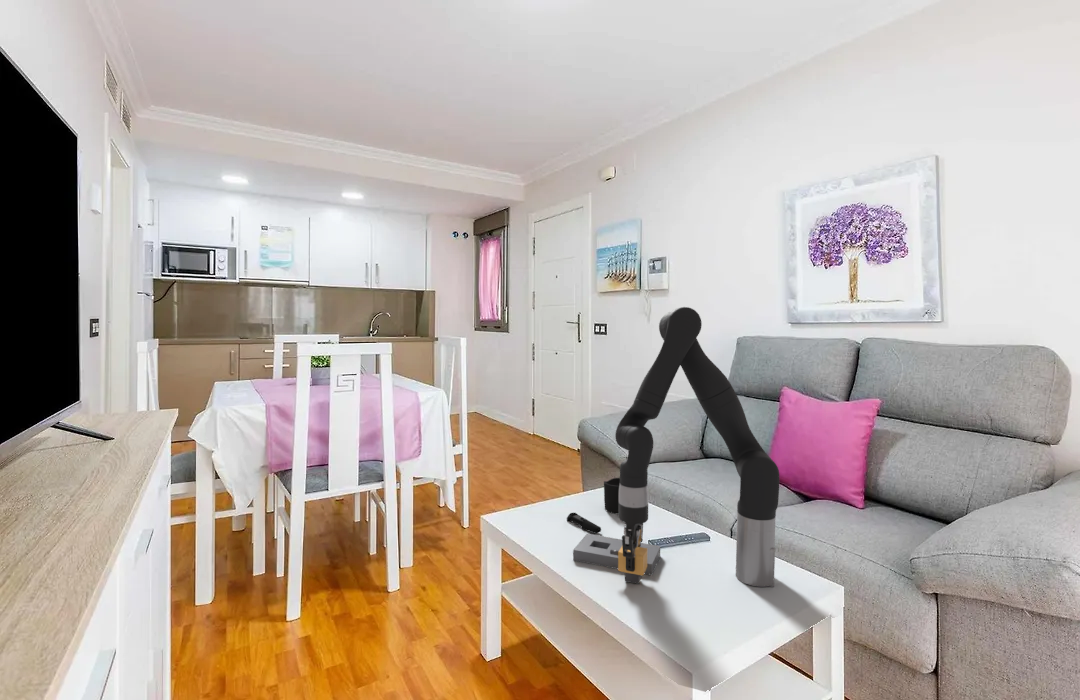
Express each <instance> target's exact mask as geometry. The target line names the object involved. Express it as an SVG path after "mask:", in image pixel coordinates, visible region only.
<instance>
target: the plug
mask: <svg viewBox="0 0 1080 700" xmlns="http://www.w3.org/2000/svg"><path fill="white" fill-rule="evenodd" d="M628 552H631V551H630V550H628ZM610 554H612V555H617V556H618V569H617V571H618V572H622V573H624V582H626V583H627V582H628V583H633V584H638V585H639V584H640V581H641V580H642V579H641V578H642V576H644V575H645V574H644V573H645V571H646V569H647V548H642V547H637V548H636V552H635V554H636V556H635V570H634V571H633V572H632V571H627V570H626V557H623V546H622V547H621V549H620V550H619V551H617V550H610Z"/></svg>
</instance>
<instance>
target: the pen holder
mask: <svg viewBox="0 0 1080 700" xmlns="http://www.w3.org/2000/svg"><path fill="white" fill-rule="evenodd" d="M619 486H620V477H613V478H611V479H609V480H607V481H605V480H604V481H603V496H604V497H603V498H604V499H603V501H604V509H605V511H606V510H607V511H606V512H608V513H611V512H612V513H611V514H616V513H619Z"/></svg>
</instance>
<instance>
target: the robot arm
mask: <svg viewBox="0 0 1080 700" xmlns="http://www.w3.org/2000/svg"><path fill="white" fill-rule="evenodd" d="M658 324H659V325H658V331H659V334H660V337H661V338H662V340H663V342H662V345H661V348H660V349H659V350H660V351H659V352H658V354H657V356H656V358H655V360H654V362H653V364H652V365H651V367H650V368H649V370H648V371H647V373H646V374H645V376H644V378H643V380H642V381H641V384H640V387H639V389H638V392H637V393H636V395H635V398H634V400H633V402H632V405H631V406H630V408H629V409H628V410H627V412H625V414H624V415H623V417H622V418H621V420H620V421H619V422H618V424H617V427H616V430H615V437H614V438H615V442H616V443H617V445H618V446H619V447H620V448H622V449H624V450H626V451H628V453H627V458H626V459H625V460H623V461H621V462H620V464H619V465H620V466H619V478H620V486H619V514H618V519H619V520H620V521H621V522H623V523H625V526H624V528H623V534H622V536H621V540H622V546H623V557H626V570H627V571H632V572H633V571H634V570H635V556H636V554H635V552H636V548H637V547H641V543H643V538H644V537H643V535H644V533H643V532H644V523H646V522H648V520H649V488H648V487H649V486H648V476H649V475H648V468H649V466H650V462H651V458H652V453H653V449H654V437H653V434H652V432H651V431H650V429H649V428H647V427H646V424H647V423H648V422H649V421H652V420H655V419H657V418H658V416H659V414H660V412H661V410H662V408H663V405H664V403H665V402H666V401H665V400H666V398H667V396H668V394H669V390H670V388H671V385H672V383H673V382H674V379H675V377H676V374H677V373H678V370H679V368H680V367H681V369H682V371H683V372H684V375H685V377H686V379H687V381H688V383H689V384H690V387H691V389H692V390H693V393H694V395H695V396H696V399H697V400H698V402H699V405H700V406H701V408H702V409H703V411H704V413H705V414H706V416H707V419H708V420H709V421H710V423H711V425H713V427H714V429H715V430H716V431H717V432H718V434H719V435H720V437H722V439H723V441H724V443H725V445H726V446H727V449H728V451H729V454H730V456H731V459H732V461H733V464H734V466H735V469H736V472H737V474H738V476H739V478H740V482H739V483H740V484H739V487H740V488H739V498H738V499H739V500H738V501H737V504H736V507H737V509H736V548H735V549H736V552H735V553H736V555H735V577H736V578H737V579H738V580H739V581H740V582H742V583H743V584H746V585H749V586H753V587H759V588H760V587H762V588H764V587H772V588H774V587H775V569H776V568H775V563H776V562H775V561H776V549H775V548H776V545H775V544H776V516H777V510H778V506H779V500H780V499H779V495H780V470H779V467H778V466H777V464H776V463H775V461H773V459H772V458H771V457H770V456H769V454H767V452H766V451H765V450H764V449H763V447H762V445H761V444H760V443H759V441H758V440H757V439H756V437H755V435H754V434H753V432H752V430H751V428H750V426H749V423H748V420H747V417H746V413H745V410H744V409H743V408H744V407H743V405H742V404H741V401H740V399H739V397H738V395H737V392H736V391H735V389H734V388H733V386H732V384H731V382H730V381H729V379H728V378H727V376H726V375H725V374H724V373H723V372H722V371H721V370H720V368H719V367H718V366H717V365H716V364H715V363H714V362H713V361H712V360H711V359H710V358H709V357H708V356H707V355H706V353H705V351H704V350H703V348H702V347H701V344H700V343H699V341H698V339H697V338H698V336H699V335H700V333H701V330H702V324H703V323H702V318H701V316H700V314H699V313H698V312H697V311H696V310H695V309H694V308H691V307H689V306H687V307H686V306H683V307H678V308H675V309H673V310H670V311H669V312H667V313H665V314H664V315H663V316H662V317H661V318H660V321H659V323H658ZM628 550H630V551H631V552H628Z"/></svg>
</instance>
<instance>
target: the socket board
mask: <svg viewBox="0 0 1080 700" xmlns="http://www.w3.org/2000/svg"><path fill="white" fill-rule="evenodd" d="M621 547H622V538H616V537H615V538H614V537H610V536H604V535H597V534H591V533H586V534H585V535H584V536H583V537H582V539H581V540H580V541H579V542H578V544H577V545H576V546H575V547H574V548H573V549H572V550H573V551H572V552H573V555H572V556H573V558H572V559H573V560H572V561H575V560H576V561H577V562H582V563H586V564H592V565H596V566H601V565H602V566H601V567H606V566H608V567H607V568H611V567H613V568H612V569H617V568H618V556H617V555H612V554H610V550H617V551H619V550H620V549H621ZM641 547H642V548H647V569H646V571H645V574H644V575H647V574H650V575H649V576H653V574H652V573H654V571H655V570H656V567H657V565H656V564H658V562H659V561H660V558H661V545H655V544H650V543H644V542H641ZM576 561H575V562H576Z"/></svg>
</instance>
